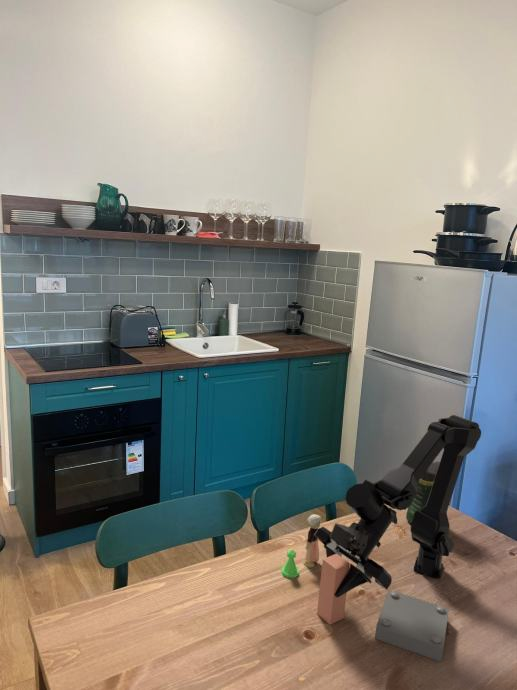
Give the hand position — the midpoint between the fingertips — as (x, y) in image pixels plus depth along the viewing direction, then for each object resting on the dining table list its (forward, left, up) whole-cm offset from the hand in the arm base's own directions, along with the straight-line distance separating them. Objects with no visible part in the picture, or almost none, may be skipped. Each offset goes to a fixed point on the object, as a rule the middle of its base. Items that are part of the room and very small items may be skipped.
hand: (328, 590), depth 113 cm
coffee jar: (-53, +14, -7) cm, 55 cm away
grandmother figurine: (-18, -9, -7) cm, 22 cm away
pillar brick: (-1, +1, -7) cm, 7 cm away
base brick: (-6, +17, -7) cm, 19 cm away
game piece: (-11, -12, -7) cm, 18 cm away
